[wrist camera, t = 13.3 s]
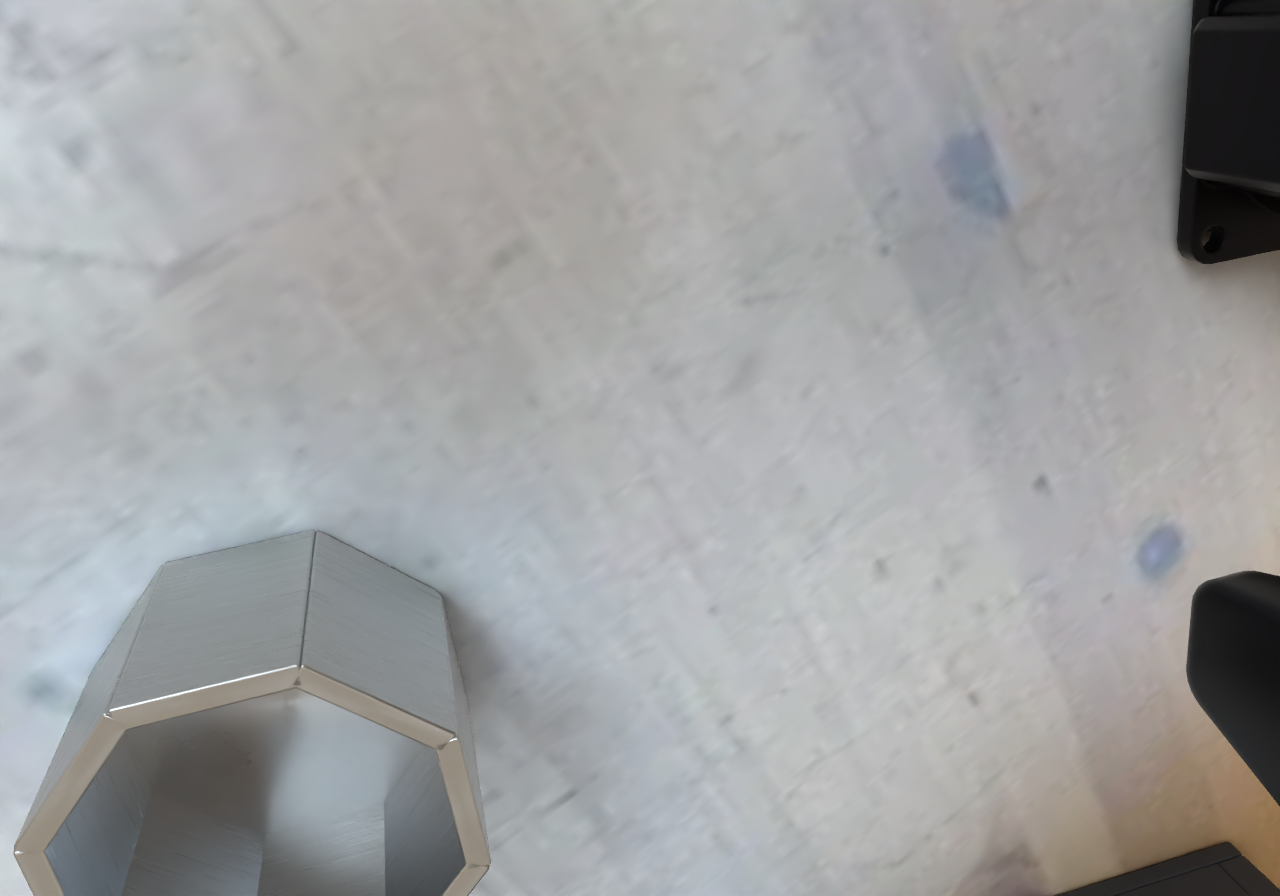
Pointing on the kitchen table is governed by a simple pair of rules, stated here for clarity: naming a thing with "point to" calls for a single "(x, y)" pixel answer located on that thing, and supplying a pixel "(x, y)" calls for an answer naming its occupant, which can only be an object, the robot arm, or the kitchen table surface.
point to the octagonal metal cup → (267, 739)
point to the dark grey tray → (1190, 877)
